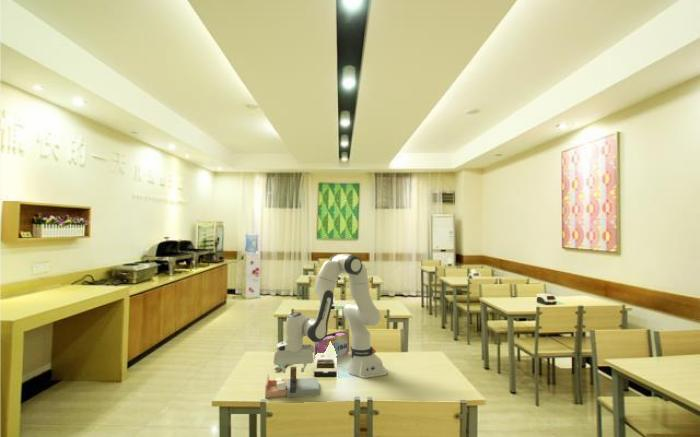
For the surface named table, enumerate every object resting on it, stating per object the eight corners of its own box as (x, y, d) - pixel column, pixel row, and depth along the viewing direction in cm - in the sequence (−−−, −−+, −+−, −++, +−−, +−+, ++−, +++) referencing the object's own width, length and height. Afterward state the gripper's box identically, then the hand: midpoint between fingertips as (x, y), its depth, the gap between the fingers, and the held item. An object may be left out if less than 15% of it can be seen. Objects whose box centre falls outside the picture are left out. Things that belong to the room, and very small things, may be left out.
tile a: (281, 377, 180) (276, 377, 180) (281, 380, 176) (275, 380, 176) (281, 385, 180) (275, 385, 179) (281, 388, 176) (275, 388, 176)
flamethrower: (267, 370, 199) (282, 373, 196) (267, 365, 199) (282, 369, 196) (290, 354, 227) (304, 357, 224) (291, 350, 227) (304, 353, 224)
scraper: (296, 377, 184) (296, 361, 185) (296, 392, 166) (296, 375, 167) (290, 377, 184) (290, 361, 184) (289, 393, 166) (290, 375, 166)
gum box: (319, 362, 212) (320, 340, 213) (312, 359, 218) (312, 337, 219) (348, 354, 228) (348, 333, 229) (340, 350, 234) (341, 330, 235)
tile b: (285, 386, 173) (285, 380, 173) (285, 389, 169) (285, 383, 169) (277, 387, 172) (277, 381, 172) (277, 390, 168) (276, 384, 169)
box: (286, 384, 181) (286, 373, 181) (286, 396, 168) (286, 384, 169) (267, 385, 180) (267, 374, 180) (265, 398, 167) (265, 385, 167)
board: (317, 383, 184) (317, 377, 184) (319, 394, 171) (319, 388, 171) (287, 384, 181) (287, 379, 181) (286, 396, 168) (286, 390, 169)
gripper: (313, 342, 181) (313, 368, 180) (274, 343, 178) (273, 370, 177) (314, 346, 175) (313, 373, 174) (273, 347, 171) (272, 375, 171)
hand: (293, 372), depth 176 cm, fingers open, 8 cm apart
